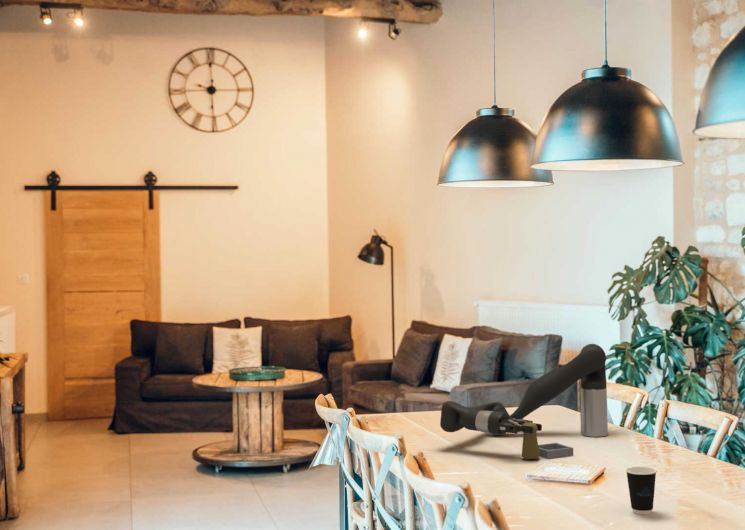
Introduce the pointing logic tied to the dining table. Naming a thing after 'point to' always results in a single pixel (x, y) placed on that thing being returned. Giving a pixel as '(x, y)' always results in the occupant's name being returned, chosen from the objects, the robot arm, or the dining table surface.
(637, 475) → the dixie cup
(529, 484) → the dining table surface
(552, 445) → the tray
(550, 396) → the robot arm
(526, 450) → the olive game piece
